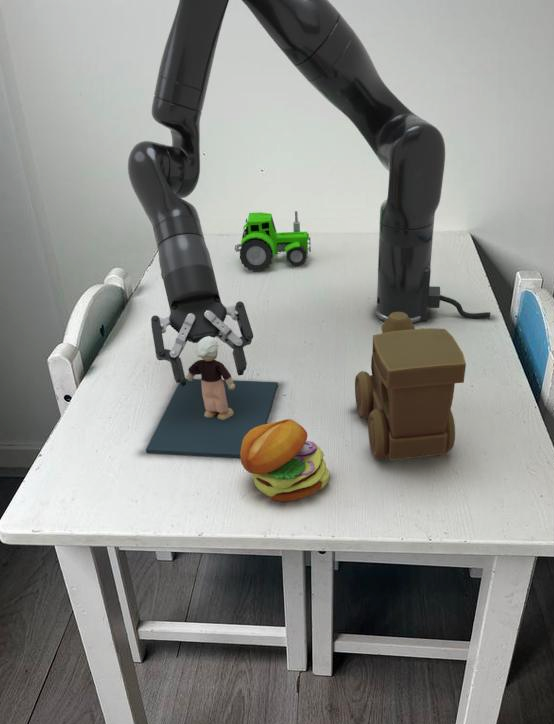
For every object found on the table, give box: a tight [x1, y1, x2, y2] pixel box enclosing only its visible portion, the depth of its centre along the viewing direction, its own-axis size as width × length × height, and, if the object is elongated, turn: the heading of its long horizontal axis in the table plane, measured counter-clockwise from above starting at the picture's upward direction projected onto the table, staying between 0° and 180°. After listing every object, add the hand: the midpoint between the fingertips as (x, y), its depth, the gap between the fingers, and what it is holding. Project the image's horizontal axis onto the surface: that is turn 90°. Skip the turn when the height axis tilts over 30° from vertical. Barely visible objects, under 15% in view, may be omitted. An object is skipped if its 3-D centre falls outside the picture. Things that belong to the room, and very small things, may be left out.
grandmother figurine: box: [186, 336, 235, 420], centre depth 108 cm, size 8×4×13 cm, turn 79°
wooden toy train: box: [354, 312, 467, 461], centre depth 102 cm, size 20×11×17 cm, turn 6°
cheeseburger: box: [240, 418, 330, 503], centre depth 97 cm, size 10×11×10 cm
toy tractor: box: [234, 211, 312, 273], centre depth 157 cm, size 11×16×10 cm
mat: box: [145, 378, 279, 459], centre depth 112 cm, size 16×20×1 cm
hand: (212, 379), depth 107 cm, fingers open, 8 cm apart
